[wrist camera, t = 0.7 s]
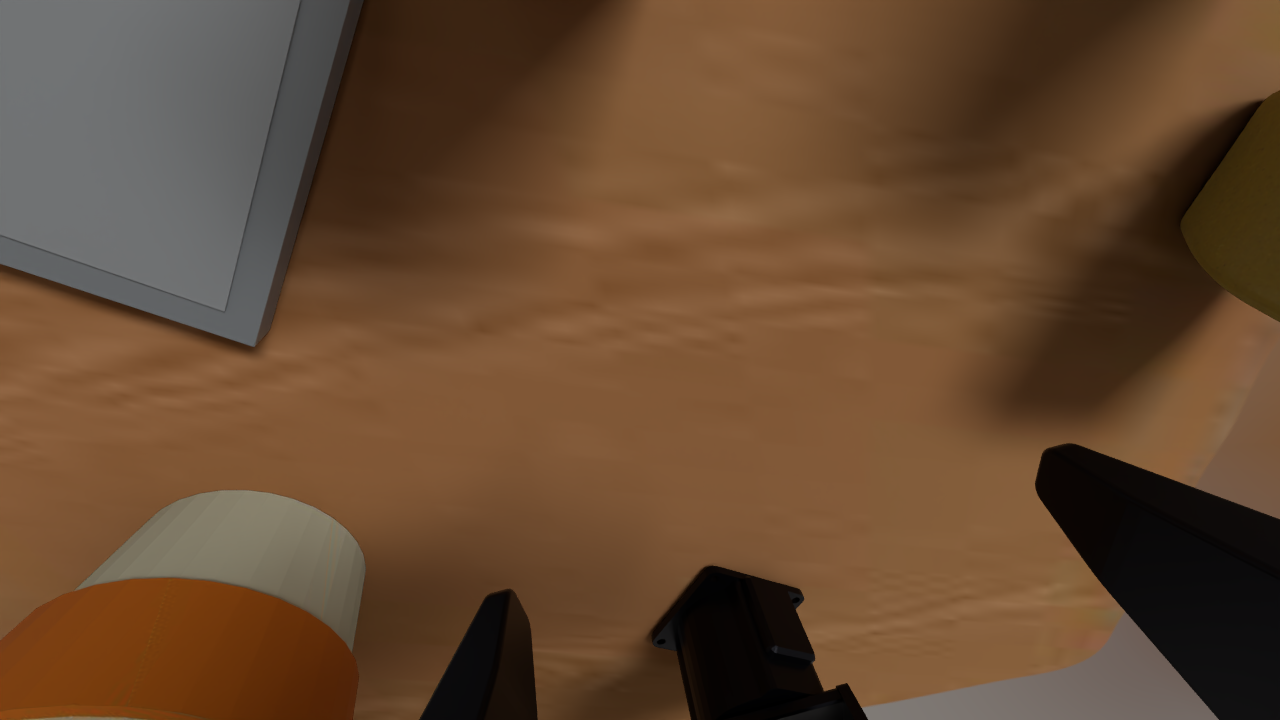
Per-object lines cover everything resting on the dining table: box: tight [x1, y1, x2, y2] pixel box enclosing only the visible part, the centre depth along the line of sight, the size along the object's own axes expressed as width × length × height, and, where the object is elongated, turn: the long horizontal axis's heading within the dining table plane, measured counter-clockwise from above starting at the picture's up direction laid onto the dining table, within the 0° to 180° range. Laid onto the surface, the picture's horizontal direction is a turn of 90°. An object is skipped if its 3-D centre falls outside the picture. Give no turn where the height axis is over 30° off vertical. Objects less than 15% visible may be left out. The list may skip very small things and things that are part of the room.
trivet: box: [0, 0, 364, 347], centre depth 14 cm, size 12×12×1 cm
